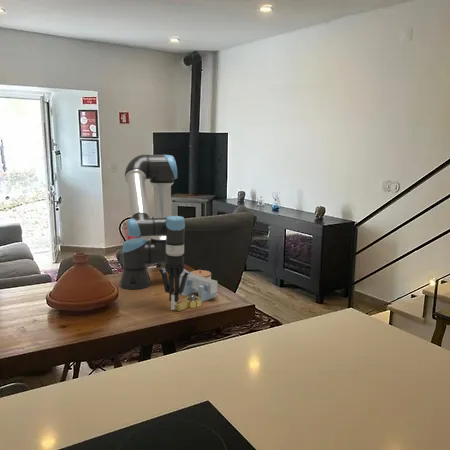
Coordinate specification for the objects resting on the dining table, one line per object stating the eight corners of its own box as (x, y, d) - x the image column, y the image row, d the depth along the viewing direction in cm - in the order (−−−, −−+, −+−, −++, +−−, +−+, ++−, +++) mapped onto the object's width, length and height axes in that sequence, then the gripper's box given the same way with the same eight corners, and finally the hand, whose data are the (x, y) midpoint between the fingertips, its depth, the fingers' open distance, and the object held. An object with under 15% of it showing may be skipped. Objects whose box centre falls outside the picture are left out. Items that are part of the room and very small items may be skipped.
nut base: (177, 307, 191) (177, 295, 190) (192, 302, 198) (192, 290, 197) (192, 312, 185) (192, 300, 184) (206, 307, 192) (207, 295, 191)
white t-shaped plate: (175, 284, 207) (175, 273, 206) (186, 280, 212) (186, 270, 211) (208, 294, 193) (208, 283, 192) (219, 291, 198) (219, 280, 197)
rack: (180, 297, 204) (180, 280, 203) (194, 292, 211) (194, 276, 210) (203, 305, 194) (203, 287, 193) (217, 299, 201) (218, 283, 200)
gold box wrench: (191, 300, 196) (191, 294, 196) (204, 304, 192) (204, 298, 191) (170, 308, 186) (170, 303, 185) (184, 313, 181) (184, 307, 181)
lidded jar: (210, 292, 212) (210, 273, 210) (188, 291, 212) (188, 272, 210) (211, 285, 222) (211, 267, 221) (190, 284, 223) (190, 266, 221)
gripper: (156, 254, 178) (155, 309, 182) (185, 257, 175) (184, 314, 179) (164, 250, 185) (163, 303, 189) (192, 253, 182) (191, 307, 186)
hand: (173, 308), depth 184 cm, fingers closed
